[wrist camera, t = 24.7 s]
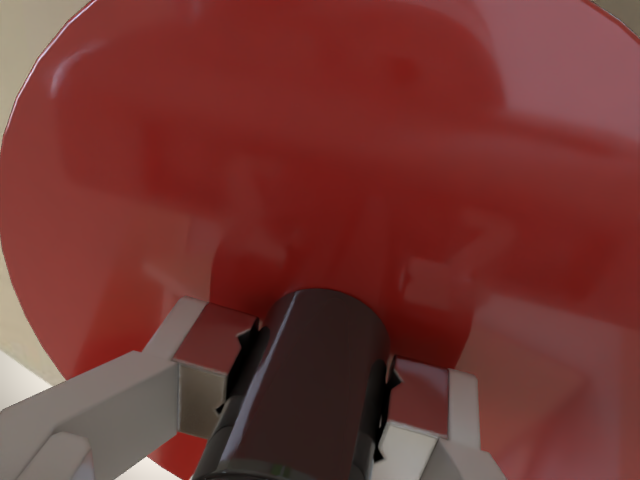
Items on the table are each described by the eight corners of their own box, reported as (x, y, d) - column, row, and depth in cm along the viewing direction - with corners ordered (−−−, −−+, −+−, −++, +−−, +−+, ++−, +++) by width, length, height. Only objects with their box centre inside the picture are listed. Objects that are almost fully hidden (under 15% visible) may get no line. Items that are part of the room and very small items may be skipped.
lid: (69, 418, 16) (-70, 602, 12) (-26, -162, 8) (-539, -234, 4) (540, 561, 15) (573, 825, 11) (961, 31, 7) (1764, 230, 3)
